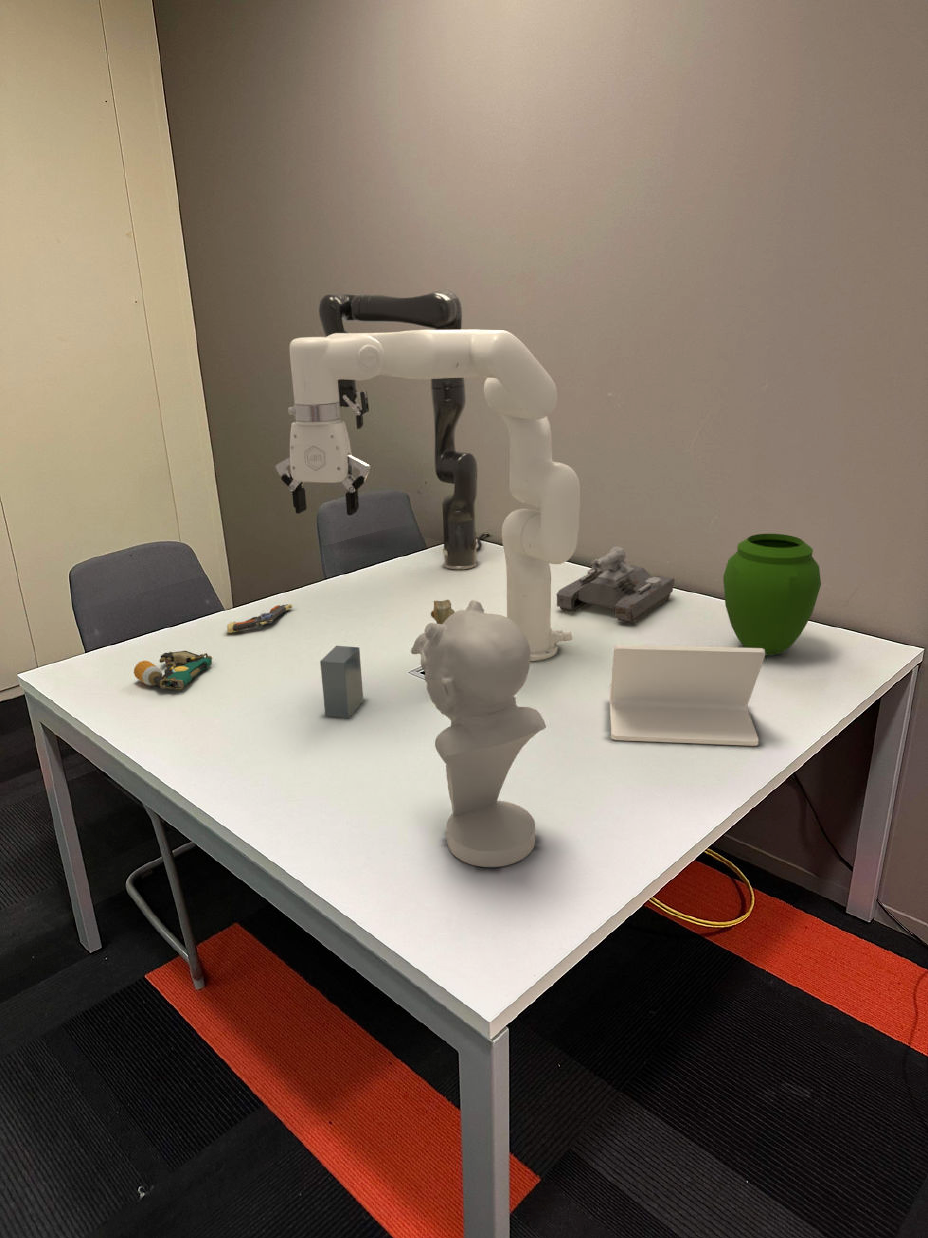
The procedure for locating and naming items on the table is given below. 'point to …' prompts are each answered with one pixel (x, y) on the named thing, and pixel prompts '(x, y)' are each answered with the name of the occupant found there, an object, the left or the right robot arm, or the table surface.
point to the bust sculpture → (481, 729)
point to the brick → (342, 681)
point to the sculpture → (441, 611)
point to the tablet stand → (683, 694)
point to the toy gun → (258, 619)
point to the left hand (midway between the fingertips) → (345, 428)
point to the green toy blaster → (172, 669)
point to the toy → (616, 588)
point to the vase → (771, 590)
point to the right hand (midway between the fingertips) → (326, 512)
